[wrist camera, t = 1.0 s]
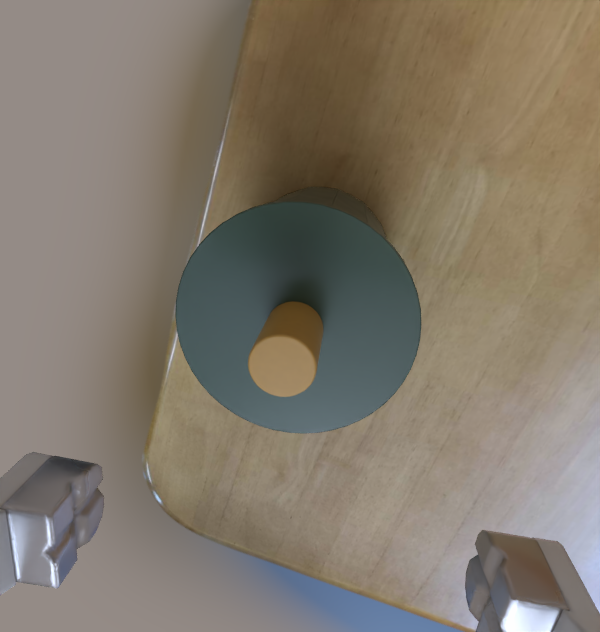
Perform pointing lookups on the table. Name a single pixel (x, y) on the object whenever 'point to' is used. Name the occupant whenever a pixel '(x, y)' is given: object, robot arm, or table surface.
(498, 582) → the robot arm
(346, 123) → the table surface
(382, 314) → the tin lid
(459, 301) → the table surface
